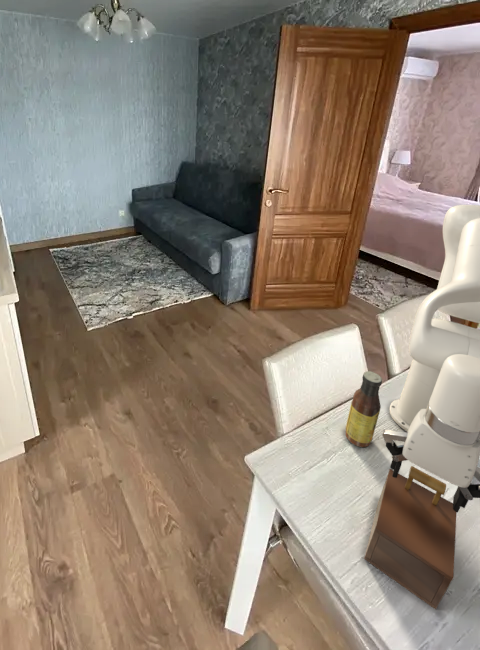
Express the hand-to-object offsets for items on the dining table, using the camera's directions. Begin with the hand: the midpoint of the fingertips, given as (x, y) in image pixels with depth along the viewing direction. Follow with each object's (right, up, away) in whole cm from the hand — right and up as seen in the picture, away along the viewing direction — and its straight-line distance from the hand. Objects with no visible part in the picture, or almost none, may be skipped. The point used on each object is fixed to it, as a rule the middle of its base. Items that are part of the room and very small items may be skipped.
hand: (424, 487), depth 66 cm
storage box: (-3, -13, +1) cm, 13 cm away
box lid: (-3, -4, -2) cm, 6 cm away
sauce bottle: (0, -4, +24) cm, 24 cm away
